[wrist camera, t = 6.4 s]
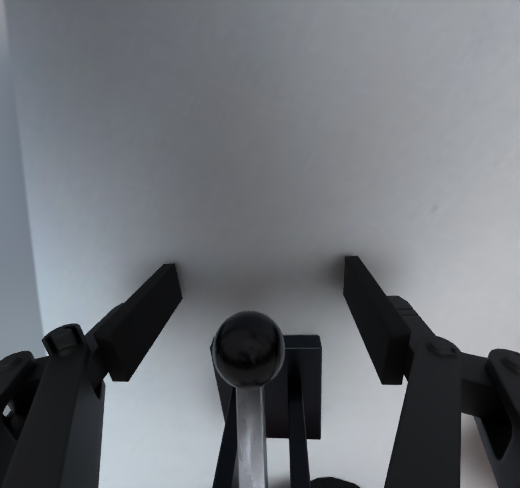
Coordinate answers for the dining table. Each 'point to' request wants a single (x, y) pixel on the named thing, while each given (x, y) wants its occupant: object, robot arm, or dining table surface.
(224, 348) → the flush lever
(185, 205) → the dining table surface
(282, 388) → the lever bracket
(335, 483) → the flower arrangement
